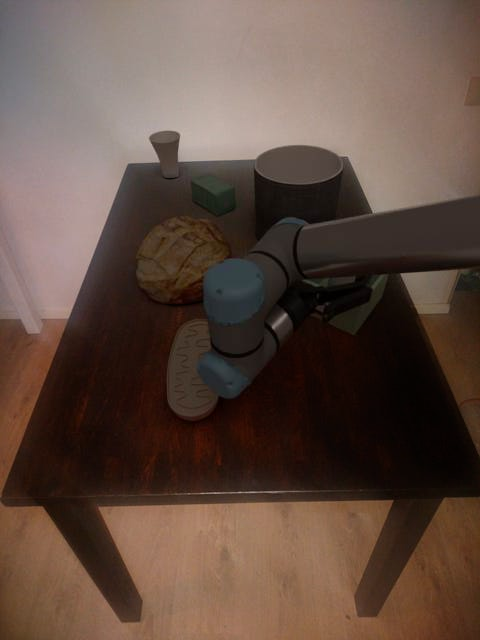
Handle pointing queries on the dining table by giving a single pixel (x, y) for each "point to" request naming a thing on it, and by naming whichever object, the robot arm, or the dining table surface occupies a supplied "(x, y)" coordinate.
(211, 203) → the box
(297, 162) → the planter
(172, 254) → the bread
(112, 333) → the dining table surface
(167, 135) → the cup
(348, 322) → the waste bin
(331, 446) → the dining table surface
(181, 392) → the anatomical model
